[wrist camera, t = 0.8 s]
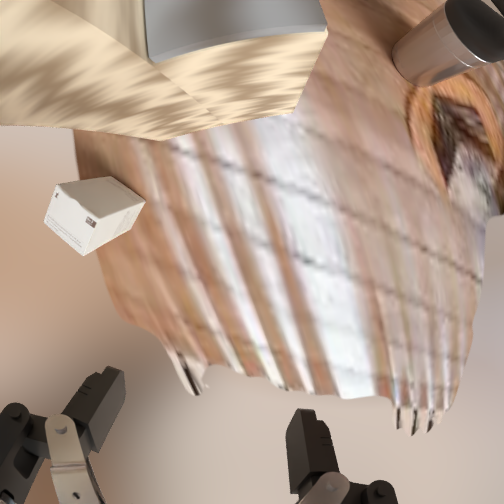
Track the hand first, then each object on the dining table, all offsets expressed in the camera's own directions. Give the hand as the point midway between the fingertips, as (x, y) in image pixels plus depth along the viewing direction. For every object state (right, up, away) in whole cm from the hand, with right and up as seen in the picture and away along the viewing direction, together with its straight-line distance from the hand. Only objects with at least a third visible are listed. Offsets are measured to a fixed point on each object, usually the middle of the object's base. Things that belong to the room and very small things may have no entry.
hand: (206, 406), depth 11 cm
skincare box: (-19, +15, +31) cm, 39 cm away
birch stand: (-3, +29, +25) cm, 38 cm away
